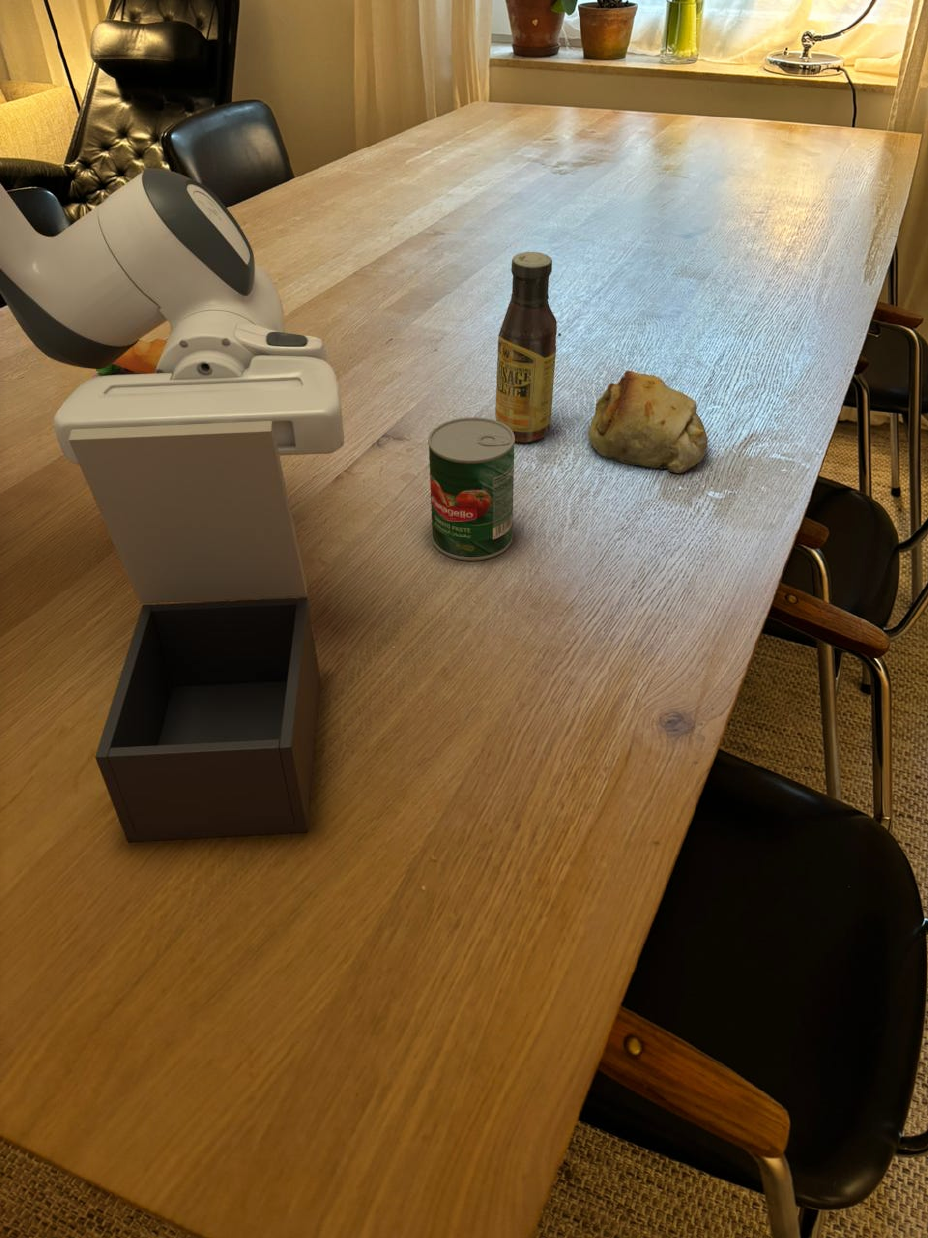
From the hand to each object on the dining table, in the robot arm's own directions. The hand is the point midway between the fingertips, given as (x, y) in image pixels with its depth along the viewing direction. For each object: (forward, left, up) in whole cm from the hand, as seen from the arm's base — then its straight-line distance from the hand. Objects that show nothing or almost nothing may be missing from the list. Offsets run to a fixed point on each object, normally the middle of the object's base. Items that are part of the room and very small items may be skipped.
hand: (188, 474), depth 66 cm
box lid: (0, 0, -4) cm, 4 cm away
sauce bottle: (+27, +41, -21) cm, 54 cm away
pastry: (+40, +37, -21) cm, 59 cm away
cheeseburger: (-18, +51, -21) cm, 58 cm away
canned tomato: (+20, +21, -21) cm, 36 cm away
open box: (0, -6, -21) cm, 22 cm away
